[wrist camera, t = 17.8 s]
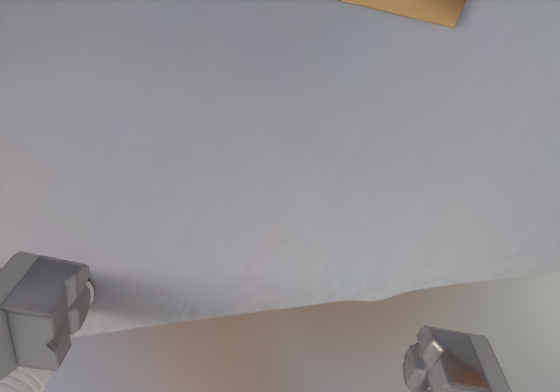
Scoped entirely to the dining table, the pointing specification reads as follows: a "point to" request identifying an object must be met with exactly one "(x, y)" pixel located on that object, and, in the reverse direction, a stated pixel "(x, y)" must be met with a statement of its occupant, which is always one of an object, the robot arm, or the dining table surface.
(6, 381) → the water bottle
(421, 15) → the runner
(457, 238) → the dining table surface
